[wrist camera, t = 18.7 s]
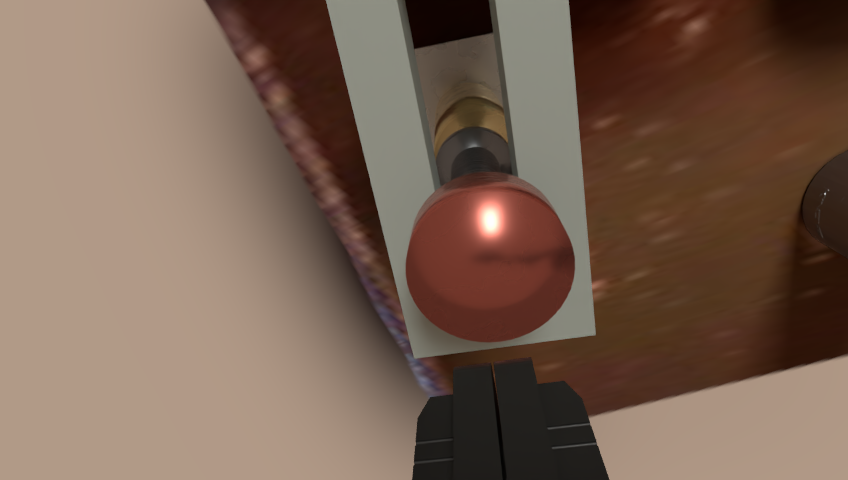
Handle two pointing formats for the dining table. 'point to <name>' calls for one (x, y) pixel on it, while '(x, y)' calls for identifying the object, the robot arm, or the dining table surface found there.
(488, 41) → the plate
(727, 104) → the dining table surface
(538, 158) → the press frame
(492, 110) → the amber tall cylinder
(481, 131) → the ram
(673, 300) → the dining table surface
